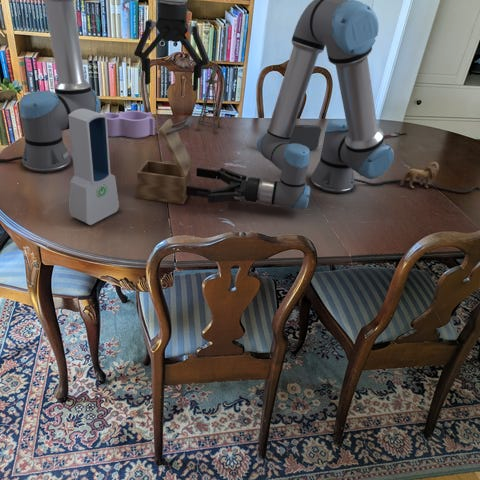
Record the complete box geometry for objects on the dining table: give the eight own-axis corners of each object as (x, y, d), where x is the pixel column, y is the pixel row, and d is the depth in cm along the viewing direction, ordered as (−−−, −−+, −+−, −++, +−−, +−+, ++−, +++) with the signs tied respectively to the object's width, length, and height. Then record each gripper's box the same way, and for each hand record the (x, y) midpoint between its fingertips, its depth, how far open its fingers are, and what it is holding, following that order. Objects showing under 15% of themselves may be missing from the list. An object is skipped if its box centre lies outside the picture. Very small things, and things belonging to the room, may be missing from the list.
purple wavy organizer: (104, 138, 183) (103, 121, 179) (102, 127, 192) (100, 111, 189) (155, 137, 189) (155, 120, 185) (150, 126, 199) (150, 110, 195)
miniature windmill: (215, 133, 199) (220, 59, 183) (196, 130, 200) (199, 56, 184) (220, 126, 207) (225, 55, 190) (201, 123, 208) (205, 52, 191)
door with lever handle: (158, 130, 133) (184, 119, 130) (167, 119, 141) (192, 109, 138) (182, 177, 140) (208, 168, 137) (189, 164, 148) (214, 155, 145)
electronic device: (87, 227, 129) (77, 121, 112) (68, 218, 132) (56, 113, 115) (120, 210, 138) (114, 110, 122) (101, 202, 141) (94, 103, 125)
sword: (403, 131, 224) (404, 129, 223) (408, 133, 222) (409, 131, 221) (360, 143, 208) (360, 140, 207) (365, 145, 206) (366, 142, 205)
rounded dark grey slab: (315, 147, 196) (319, 124, 190) (317, 149, 194) (322, 126, 188) (264, 149, 189) (267, 125, 183) (266, 152, 187) (269, 127, 181)
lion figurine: (427, 181, 177) (434, 159, 172) (436, 187, 173) (444, 165, 168) (395, 184, 172) (401, 161, 167) (403, 190, 168) (411, 167, 163)
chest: (137, 197, 146) (136, 172, 141) (147, 184, 154) (146, 159, 149) (183, 204, 145) (184, 178, 140) (190, 190, 153) (191, 166, 148)
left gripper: (222, 6, 121) (217, 88, 133) (129, -5, 123) (132, 77, 134) (218, 9, 115) (212, 95, 127) (120, -2, 117) (123, 84, 128)
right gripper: (252, 221, 135) (181, 210, 137) (261, 184, 156) (199, 175, 158) (255, 198, 131) (182, 187, 133) (264, 163, 152) (200, 154, 154)
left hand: (171, 86), depth 131 cm, fingers open, 13 cm apart
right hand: (191, 180), depth 145 cm, fingers open, 13 cm apart
